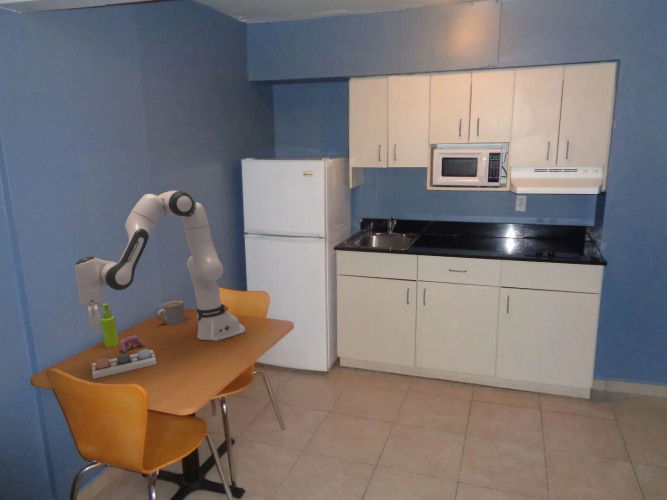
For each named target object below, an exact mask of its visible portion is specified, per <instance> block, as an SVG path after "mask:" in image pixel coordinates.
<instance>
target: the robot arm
mask: <svg viewBox="0 0 667 500" xmlns="http://www.w3.org/2000/svg"><path fill="white" fill-rule="evenodd" d="M162 216H170V217H180V219H181V221H182V224H183V231H184V234H185V239H186V245H187V246H188V250H189V251H190V252H191V255H190V256H189V257H188V259H187V261H186V268H187V270H188V272H189V276H190V279H191V282H192V286H193V289H194V295H195V301H196V307H195V308H196V310H195V311H196V319H197V321H198V323H197V325H198V326H197V334H196V338H197V339H199V340H202V341H214V342H218V341H220V340H223V339H227V338H230V337H231V338H232V337H233V336H237V335H240V334H243V333H245V332H246V329H245V328H246V327H245V326H244V325H243V324H241V323H240V322H239V318H238V317H237V316H236V315H234V314H232V313H231V312H229V307H228V306H227V305H225V304H223V303H221V300H222V299H221V293H220V288H219V286H218V283H217V280H219V279H220V278H222V276H223V274H224V266H223V263H221V260H220V259H219V256H218V253H217V250H216V247H215V245H214V243H213V239H212V235H211V234H212V233H211V229H210V225H209V224H210V223H209V220H208V216H207V214H206V210H205V208H204V206H203V204H201V203H200V202H196V201H194V199H193V197H192V196H191V195H190V194H189V193H187V192H186V191H182V190H181V191H180V190H167V191H165V190H164V191H162V192H160V193H158V194H157V195H156V194H154V193H146V194H144V195H143V196H141V198H140V199H139V200H138V201H137V203H136V204H135V205H134V206H133V207H132V209H131V212H130V213H129V214H128V217H127V219H126V222H125V224H124V228H125V232H126V234H127V236H128V243H127V245H126V247H125V250H124V251H123V253H122V255H121V258H120V259H119V260H118V261H117V262H116V261H112V260H111V261H110V260H105V259H101V258H98V257H96V256H93V255H92V256H85V257H82V258H80V259H79V260H78V261H76V263H75V266H74V273H75V281H76V284H77V287H78V289H77V293H78V294H77V295H78V299H79V300H78V301H79V305H82V306H83V307H84V308H85V309H87V314H88V321H89V326H90V327H91V328H92V329H93V332H94V335H99V334H100V326H101V313H100V307H101V306H100V305H101V304H103V302H104V301H105V295H104V288H103V287H104V286H108V287H110V288H111V289H113V290H115V291H123V290H126V289H127V288H129V287H130V286H131V285H132V284H133V282H134V279H135V272H136V268H137V265H138V263H139V262H140V261H139V260H140V259H141V257H142V254H143V252H144V250H145V248H146V246H147V243H148V241H149V239H150V236H151V234H152V232H153V230H154V229H155V227H156V225H157V223H158V221H159V219H161V218H162Z"/></svg>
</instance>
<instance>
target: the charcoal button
mask: <svg viewBox="0 0 667 500" xmlns="http://www.w3.org/2000/svg"><path fill="white" fill-rule="evenodd" d="M130 355H131V354H130V353H128V352H127V353H121V354H118V355H117V356H116V358H117V362H118V365H123V364H127V363H132V362H131V360H130ZM118 365H117V366H118Z"/></svg>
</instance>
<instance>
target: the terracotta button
mask: <svg viewBox="0 0 667 500" xmlns="http://www.w3.org/2000/svg"><path fill="white" fill-rule="evenodd" d="M109 360H110V359H109V358H108V357H102V358H99V359H96V360H95V362H94V363H96V369H97V370H101V369H105V368H110V363H109Z"/></svg>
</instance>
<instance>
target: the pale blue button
mask: <svg viewBox="0 0 667 500" xmlns="http://www.w3.org/2000/svg"><path fill="white" fill-rule="evenodd" d="M136 354H138V360H137V361H140V360H145V359H149V358H152V357H151V355H150V349H149V348H143V349H140V350H137V352H136Z"/></svg>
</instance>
